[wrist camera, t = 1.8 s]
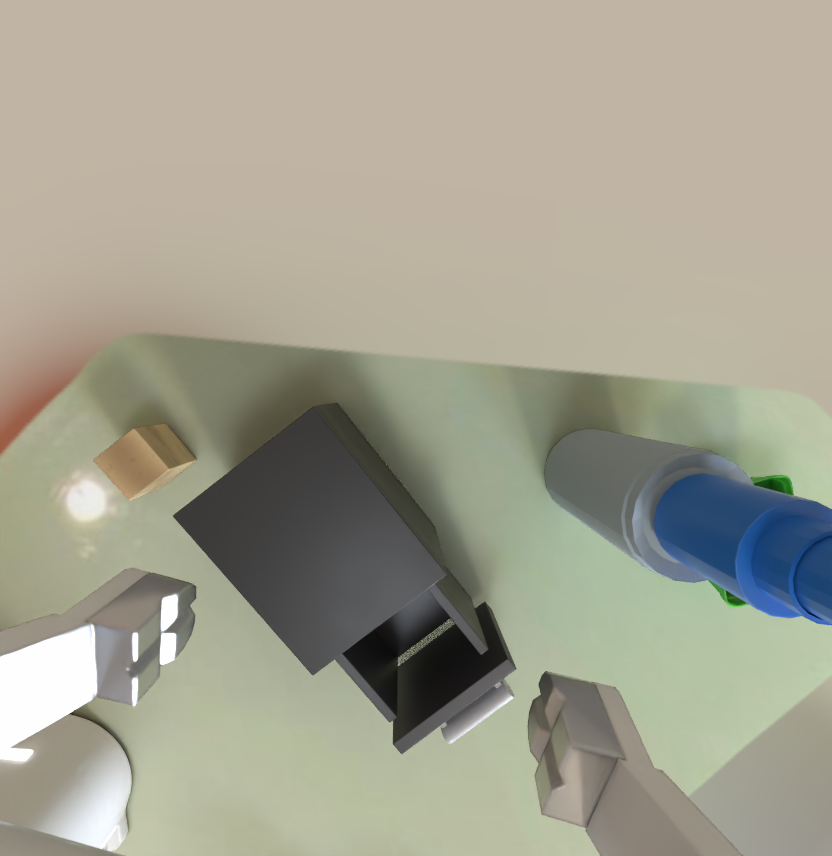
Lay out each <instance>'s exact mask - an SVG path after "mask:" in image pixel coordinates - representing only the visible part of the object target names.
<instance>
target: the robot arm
mask: <svg viewBox="0 0 832 856" xmlns="http://www.w3.org/2000/svg"><path fill="white" fill-rule="evenodd" d="M195 599H196V586H195V585H193V584H192V583H188V582H185V581H181V580H178V579H174V578H170V577H167V576H163V575H160V574H156V573H150V572H147V571H143V570H140V569H136V568H129V569H125V570H124V571H122V572H121V573H119V574H118V575H117V576H115V577H114V578H112V579H111V580H110V581H108V582H107V583H105V584H104V585H102V586H101V587H100V588H98V589H97V590H95V591H94V592H93V593H91V594H90V595H88V596H87V597H86V598H84V599H83V600H81V601H80V602H79V603H77V604H76V605H74V606H73V607H72V608H70V609H69V610H67V611H66V612H65V613H63V614H62V615H57V614H51V615H48V616H45V617H42V618H39V619H36V620H33V621H29V622H26V623H23V624H20V625H17V626H14V627H11V628H8V629H4V630H1V631H0V856H124V855H121V854H117V853H114V852H112V851H114V850H115V849H117V848H118V847H119V846H120V844H121V843H122V842H123V840H124V839H125V838H126V836H127V833H128V824H127V818H126V813H125V811H126V806H127V802H128V799H129V796H130V792H131V785H132V775H131V769H130V765H129V761H128V759H127V756H126V754H125V752H124V751H123V749H122V747H121V746H120V744H119V743H118V742H117V741H116V740H115V739H114V737H113V736H112V735H111V734H109V733H108V732H107V731H106V730H104V729H103V728H102V727H100V726H99V725H97V724H95V723H93V722H91V721H89V720H87V719H84V718H81V717H78V716H74V715H70V714H69V713H70V712H72V711H74V710H76V709H77V708H79V707H81V706H83V705H84V704H86V703H88V702H89V701H91V700H93V699H94V697H99V698H103V699H107V700H112V701H116V702H121V703H125V704H129V705H134V706H135V705H136V703H137V702H138V701H139V700H140V699H141V698H142V696H143V695H144V694H145V693H146V692H147V691H148V690H149V688H150V687H151V686H152V685H153V684H154V683H155V681H156V680H157V679H158V678H159V676H160V666H162V665H164V664H166V663H168V662H170V661H172V660H174V659H175V658H176V657H177V656H178V655H179V653H180V652H181V651H182V650H183V649H184V647H185V645H186V643H187V642H188V640H189V638H190V636H191V634H192V630H193V627H194V623H195V614H194V612H193V610H192V609H191V607H190V604H191V603H192V602H193V601H194V600H195ZM539 688H540V693H541V695H540V696H538V697H537V698H535V699H534V700H533V701H532V705H531V708H530V711H529V719H528V739H529V746H530V752H531V753H532V754H533V756H534V757H535V759H536V760H537V762H538V763H539V765H538V768H537V770H536V773H535V780H536V786H537V791H538V797H539V803H540V808H541V814H542V815H545V816H548V817H552V818H555V819H558V820H561V821H565V822H568V823H571V824H575V825H578V826H581V827H585V828H586V832H587V834H588V836H589V837H590V839H591V841H592V842H593V844H594V846H595V847H596V849H597V851H598V852H599V854H600V856H743V855H742V854H741V853H740V852H739V851H738V850H737V848H736V847H735V846H734V845H733V844H732V843H731V842H730V841H729V840H728V839H727V838H726V837H725V836H724V835H723V834H722V833H721V832H720V831H719V830H718V829H717V827H716V826H715V825H714V824H713V823H712V822H711V821H710V820H709V819H708V818H707V817H706V816H705V815H704V814H703V813H702V812H701V811H700V810H699V808H698V807H697V806H696V805H695V804H694V803H693V802H692V801H691V800H690V799H689V798H688V797H687V796H686V795H685V794H684V793H683V792H682V791H681V789H680V788H679V787H678V786H677V785H676V784H675V783H674V782H673V781H672V780H671V779H670V778H669V777H668V776H667V775H666V774H665V773H664V772H663V771H662V770H659V769H656V768H654V766H653V764H652V761H651V759H650V757H649V755H648V753H647V751H646V748H645V746H644V744H643V742H642V740H641V737H640V735H639V733H638V731H637V729H636V727H635V724H634V722H633V720H632V718H631V716H630V714H629V711H628V709H627V707H626V705H625V703H624V700H623V698H622V696H621V694H620V692H619V691H618V690H617V689H616V688H615V687H612V686H608V685H604V684H599V683H595V682H589V681H585V680H581V679H577V678H573V677H569V676H564V675H560V674H556V673H552V672H548V671H545V672H544V674H543V675H542V677H541V679H540V682H539Z"/></svg>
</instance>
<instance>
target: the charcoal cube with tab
mask: <svg viewBox="0 0 832 856" xmlns="http://www.w3.org/2000/svg"><path fill="white" fill-rule="evenodd" d="M173 517H174V518H175V519H176V520H177V521H178V523H179V524H180V525H181V526H182V527H183V528H184V529H185V531H186V532H187V533H188V534H189V535H190V536H191V537H192V539H193V540H194V541H195V542H196V543H197V544H198V545H199V547H200V548H201V549H202V550H203V551H204V552H205V553H206V555H207V556H208V557H209V558H210V559H211V560H212V561H213V562H214V564H215V565H216V566H217V567H218V568H219V569H220V570H221V572H222V573H223V574H224V575H225V576H226V577H227V578H228V580H229V581H230V582H231V583H232V584H233V585H234V586H235V588H236V589H237V590H238V591H239V592H240V593H241V594H242V596H243V597H244V598H245V599H246V600H247V601H248V602H249V603H250V605H251V606H252V607H253V608H254V609H255V610H256V611H257V613H258V614H259V615H260V616H261V617H262V618H263V619H264V621H265V622H266V623H267V624H268V625H269V626H270V627H271V629H272V630H273V631H274V632H275V633H276V634H277V635H278V637H279V638H280V639H281V640H282V641H283V642H284V643H285V645H286V646H287V647H288V648H289V649H290V650H291V651H292V652H293V654H294V655H295V656H296V657H297V658H298V659H299V660H300V662H301V663H302V664H303V665H304V666H305V667H306V668H307V670H308V671H309V672H310V673H311V674H312V675H314V674H316V673H317V672H318V671H320V670H321V669H322V668H324V667H325V666H326V665H328V664H329V663H330V662H332V661H333V660H334V659H335V658H337V657H338V656H339V655H341V654H342V653H343V652H345V651H346V650H347V649H349V648H350V647H351V646H353V645H354V644H355V643H357V642H358V641H359V640H361V639H362V638H363V637H365V636H366V635H367V634H369V633H370V632H371V631H373V630H374V629H375V628H377V627H378V626H379V625H381V624H382V623H383V622H385V621H386V620H387V619H389V618H390V617H391V616H393V615H394V614H395V613H397V612H398V611H399V610H401V609H402V608H403V607H404V606H406V605H407V604H408V603H410V602H411V601H412V600H414V599H415V598H416V597H418V596H419V595H420V594H422V593H423V592H424V591H426V590H427V589H428V588H430V587H431V586H432V585H434V584H435V583H436V582H438V581H439V580H440V579H442V578H443V577H444V576H446V575H447V572H446V568H445V564H444V560H443V556H442V553H441V549H440V545H439V541H438V537H437V533H436V529H435V526H434V525H433V523H432V522H431V521H430V520H429V518H428V517H427V516H426V514H425V513H424V512H423V511H422V509H421V508H420V507H419V506H418V504H417V503H416V502H415V501H414V499H413V498H412V497H411V496H410V494H409V493H408V492H407V490H406V489H405V488H404V487H403V485H402V484H401V483H400V482H399V480H398V479H397V478H396V477H395V475H394V474H393V473H392V471H391V470H390V469H389V468H388V466H387V465H386V464H385V463H384V461H383V460H382V459H381V458H380V456H379V455H378V454H377V453H376V451H375V450H374V449H373V447H372V446H371V445H370V444H369V442H368V441H367V440H366V439H365V437H364V436H363V435H362V434H361V432H360V431H359V430H358V429H357V427H356V426H355V425H354V423H353V422H352V421H351V420H350V418H349V417H348V416H347V415H346V413H345V412H344V411H343V410H342V408H341V407H340V406H339V405H338V403H333V404H327V405H322V406H316V407H312V408H311V409H310V410H308V411H307V412H306V413H304V414H303V415H302V416H301V417H299V418H298V419H297V420H295V421H294V422H293V423H292V424H290V425H289V426H288V427H286V428H285V429H284V430H283V431H281V432H280V433H279V434H277V435H276V436H275V437H274V438H272V439H271V440H270V441H268V442H267V443H266V444H264V445H263V446H262V447H261V448H259V449H258V450H257V451H255V452H254V453H253V454H252V455H250V456H249V457H248V458H246V459H245V460H244V461H243V462H241V463H240V464H239V465H237V466H236V467H235V468H234V469H232V470H231V471H230V472H228V473H227V474H226V475H225V476H223V477H222V478H221V479H219V480H218V481H217V482H216V483H214V484H213V485H212V486H210V487H209V488H208V489H207V490H205V491H204V492H203V493H201V494H200V495H199V496H198V497H196V498H195V499H194V500H192V501H191V502H190V503H189V504H187V505H186V506H185V507H183V508H182V509H181V510H179V511H178V512H177V513H176V514H174V515H173Z"/></svg>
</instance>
